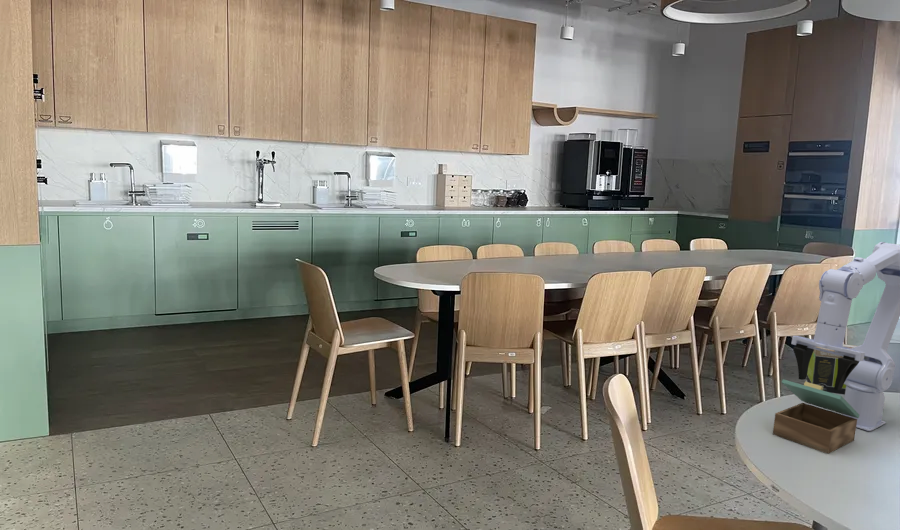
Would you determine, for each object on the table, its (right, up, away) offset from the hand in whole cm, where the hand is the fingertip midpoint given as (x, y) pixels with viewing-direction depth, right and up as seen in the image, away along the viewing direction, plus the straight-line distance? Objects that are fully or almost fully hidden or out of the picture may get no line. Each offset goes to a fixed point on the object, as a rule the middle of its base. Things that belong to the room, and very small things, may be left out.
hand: (819, 384), depth 151 cm
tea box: (+20, -10, +27) cm, 35 cm away
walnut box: (0, -12, +2) cm, 13 cm away
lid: (+1, -4, +2) cm, 4 cm away
